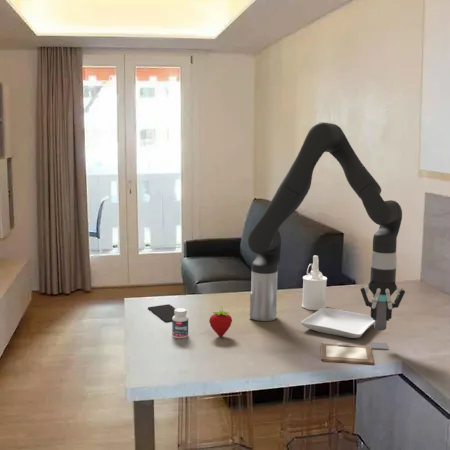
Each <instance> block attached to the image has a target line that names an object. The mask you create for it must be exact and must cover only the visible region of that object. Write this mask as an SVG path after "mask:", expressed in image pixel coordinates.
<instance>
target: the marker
mask: <svg viewBox="0 0 450 450" xmlns="http://www.w3.org/2000/svg"><path fill="white" fill-rule="evenodd" d="M387 306H388V303H387V297H386V295H381V294H379V298H378V301H377V304H376V307H375V308H376V319H375V324H374V329H376V330H386V329H387V322H388V321H387Z"/></svg>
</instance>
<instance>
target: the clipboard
mask: <svg viewBox="0 0 450 450" xmlns="http://www.w3.org/2000/svg"><path fill="white" fill-rule="evenodd" d="M320 361H321V362H332V363H334V362H336V363H346V364H349V363H350V364H361V365H362V364H363V365H374V359H373V354H372V348H371V345H369V346H367V345H354V343H342V342H337V343H323V342H322V343H321V344H320Z"/></svg>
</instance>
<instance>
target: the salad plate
mask: <svg viewBox="0 0 450 450" xmlns="http://www.w3.org/2000/svg"><path fill="white" fill-rule="evenodd" d="M300 323H301V325H302V326H304V328H307V329H309V330H312V331H315V332H318V333H323V334H327V335H328V334H329V335H332V334H333V335H334V336H337V335H338V337H342V338H348V339H349V338H350V339H359V338H361V337H362V336H363V334H365V332H366V331H368V329H370V328H371V327H372V326H373V325H375V320H373V318H371V315H369V314H365V313H364V314H363V313H358V312H353V311H349V310H348V311H346V310H342V309H336V308H331V307H330V308H329V307H326V308H321V309H320V310H316V311H314V313H312V314H311V315H309V316H307V317H306V318H305V319H303V320H301V321H300ZM333 335H332V336H333Z"/></svg>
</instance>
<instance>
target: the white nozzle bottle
mask: <svg viewBox="0 0 450 450" xmlns="http://www.w3.org/2000/svg"><path fill="white" fill-rule="evenodd" d="M319 262H320V261H319V255H313V256H312V263H309V264H308V266H307V269H306V275H303V276H302V281H303V283H302V304H301V307H302V308H303V309H306V310H308V311H318V310H320V309H321V308H327V304H326V302H327V300H326V299H327V281H328V278H327V276H324V275H323V273H322V272H321V271H320V270H319V268H320V267H319ZM309 268H311V270H310V272H309Z"/></svg>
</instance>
